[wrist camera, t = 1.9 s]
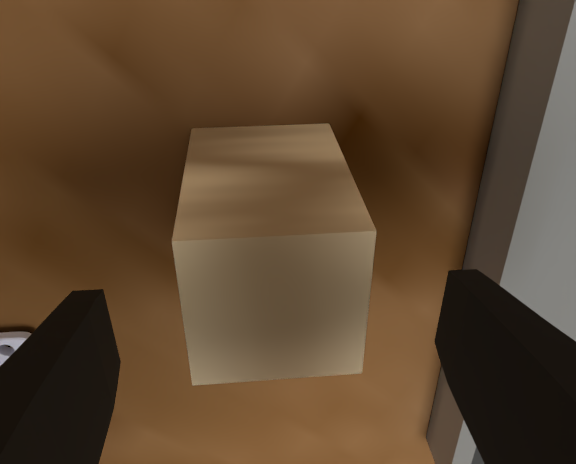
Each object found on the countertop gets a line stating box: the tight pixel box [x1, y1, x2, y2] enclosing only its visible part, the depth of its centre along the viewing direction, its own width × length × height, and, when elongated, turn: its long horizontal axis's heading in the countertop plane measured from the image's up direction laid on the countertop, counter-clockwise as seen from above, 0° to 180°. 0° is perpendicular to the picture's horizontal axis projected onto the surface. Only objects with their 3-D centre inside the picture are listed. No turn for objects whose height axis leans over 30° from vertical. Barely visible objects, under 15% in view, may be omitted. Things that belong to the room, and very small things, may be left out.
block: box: [172, 123, 376, 386], centre depth 14 cm, size 4×4×6 cm
